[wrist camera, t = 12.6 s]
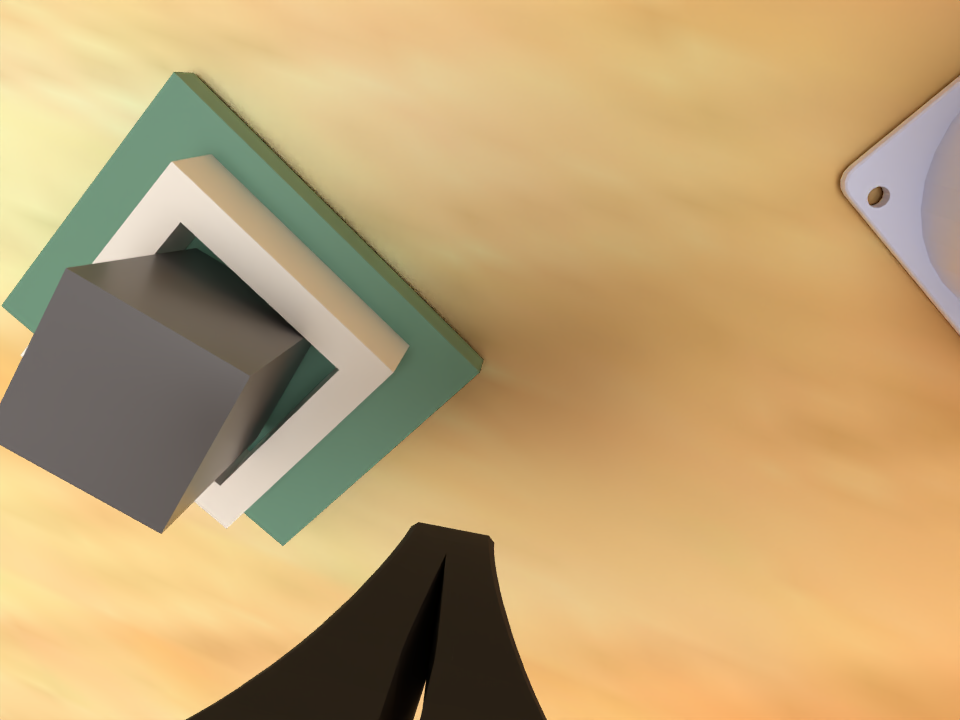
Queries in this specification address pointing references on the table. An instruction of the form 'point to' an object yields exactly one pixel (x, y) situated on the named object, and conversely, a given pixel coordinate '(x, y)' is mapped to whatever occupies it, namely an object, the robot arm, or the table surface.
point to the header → (287, 289)
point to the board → (122, 185)
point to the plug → (148, 380)
